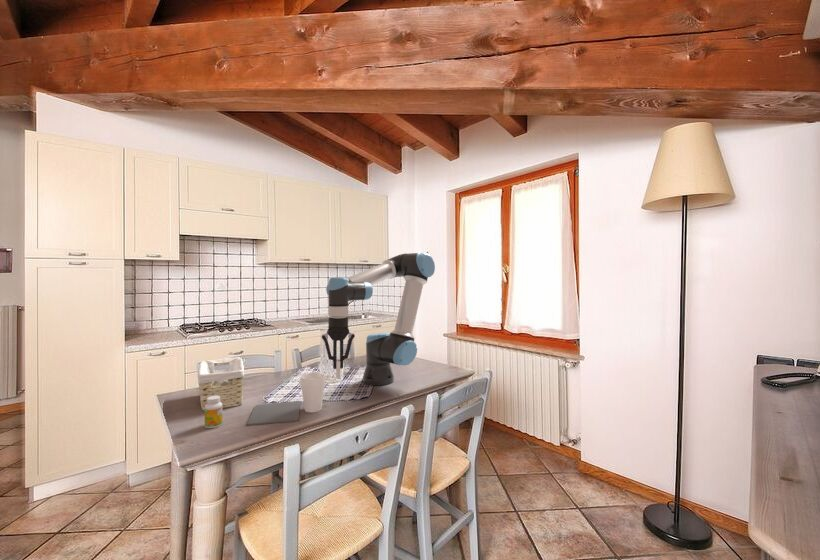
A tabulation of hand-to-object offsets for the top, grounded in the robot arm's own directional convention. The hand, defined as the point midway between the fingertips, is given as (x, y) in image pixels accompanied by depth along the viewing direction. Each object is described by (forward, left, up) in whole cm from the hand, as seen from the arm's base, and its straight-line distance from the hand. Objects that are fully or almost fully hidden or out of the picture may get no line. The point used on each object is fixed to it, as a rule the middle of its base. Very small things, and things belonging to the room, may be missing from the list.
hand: (338, 376), depth 139 cm
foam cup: (+9, 0, -12) cm, 15 cm away
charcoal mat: (+23, +1, -12) cm, 26 cm away
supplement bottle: (+42, +7, -12) cm, 45 cm away
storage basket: (+46, -19, -12) cm, 52 cm away
